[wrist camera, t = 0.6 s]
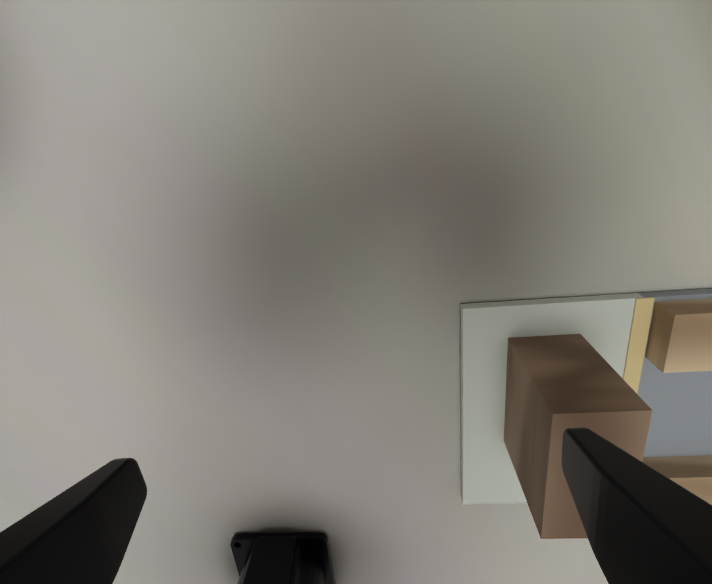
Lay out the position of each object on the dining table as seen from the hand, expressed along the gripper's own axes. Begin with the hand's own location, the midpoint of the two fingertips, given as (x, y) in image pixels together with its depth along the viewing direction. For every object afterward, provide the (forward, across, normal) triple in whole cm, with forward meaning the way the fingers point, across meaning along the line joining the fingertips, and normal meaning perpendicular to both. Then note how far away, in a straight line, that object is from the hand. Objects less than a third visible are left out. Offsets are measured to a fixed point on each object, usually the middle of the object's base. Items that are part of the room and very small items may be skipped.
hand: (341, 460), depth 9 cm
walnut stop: (+12, -8, +8) cm, 17 cm away
